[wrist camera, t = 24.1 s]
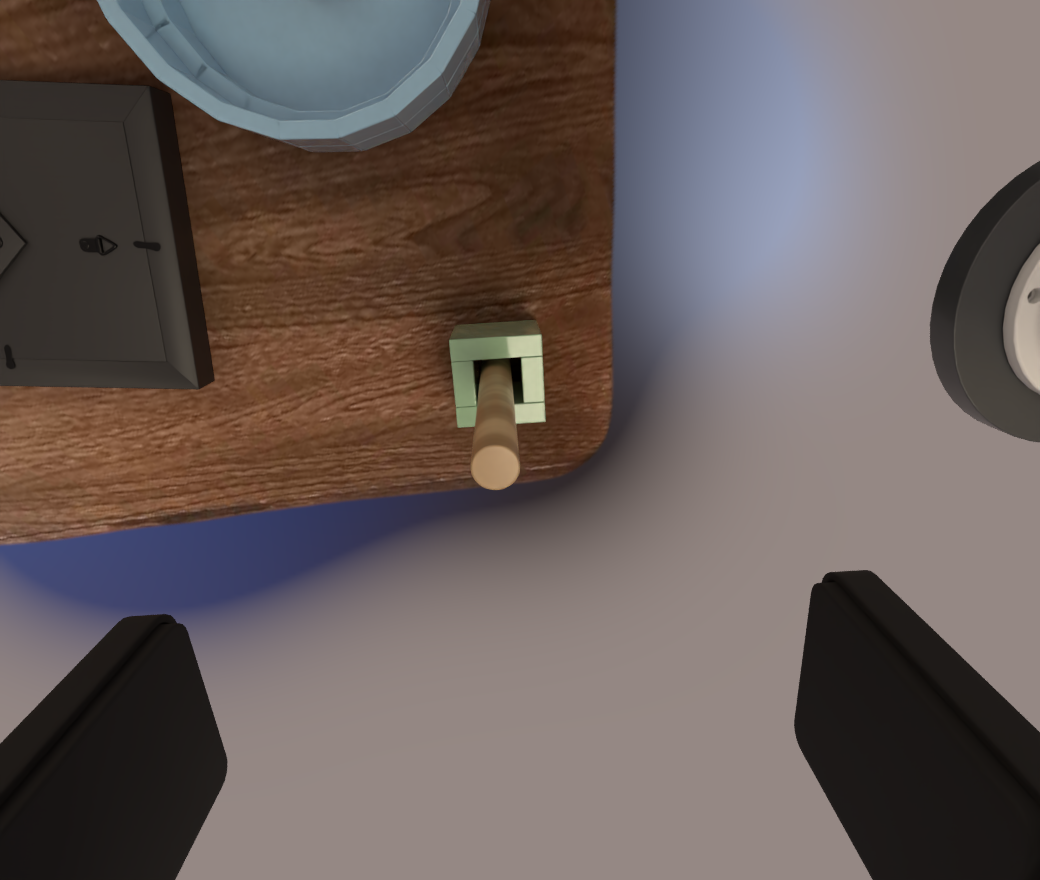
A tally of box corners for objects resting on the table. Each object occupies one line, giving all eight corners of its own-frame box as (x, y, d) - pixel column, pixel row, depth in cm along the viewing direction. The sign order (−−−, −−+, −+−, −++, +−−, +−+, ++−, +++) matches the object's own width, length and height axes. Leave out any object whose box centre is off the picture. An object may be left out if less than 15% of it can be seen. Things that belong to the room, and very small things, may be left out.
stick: (492, 343, 37) (488, 435, 21) (516, 359, 37) (529, 461, 21) (476, 366, 37) (460, 474, 21) (499, 382, 38) (502, 499, 22)
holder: (454, 324, 36) (448, 340, 32) (536, 319, 36) (541, 334, 32) (462, 402, 38) (457, 428, 33) (539, 397, 38) (545, 422, 33)
